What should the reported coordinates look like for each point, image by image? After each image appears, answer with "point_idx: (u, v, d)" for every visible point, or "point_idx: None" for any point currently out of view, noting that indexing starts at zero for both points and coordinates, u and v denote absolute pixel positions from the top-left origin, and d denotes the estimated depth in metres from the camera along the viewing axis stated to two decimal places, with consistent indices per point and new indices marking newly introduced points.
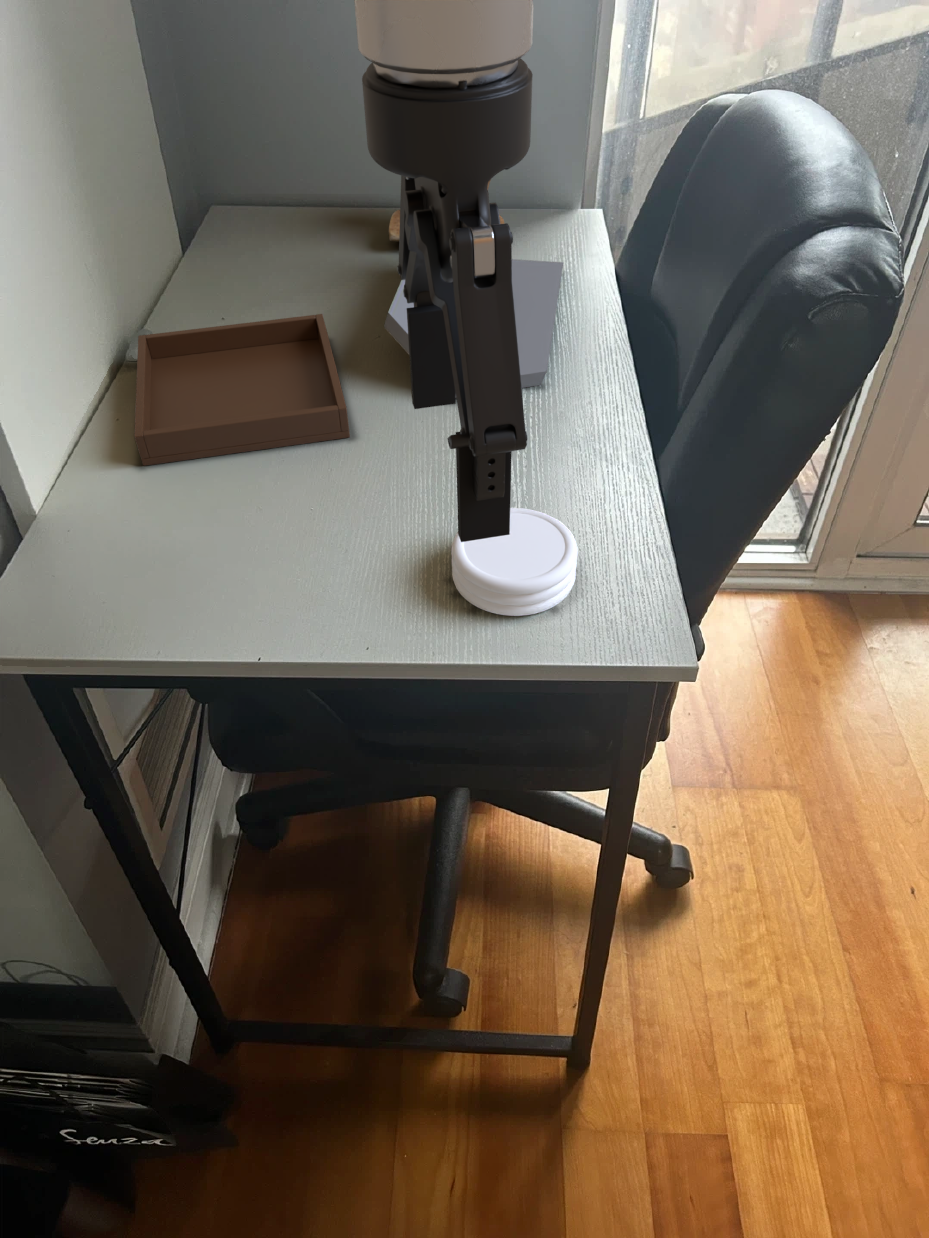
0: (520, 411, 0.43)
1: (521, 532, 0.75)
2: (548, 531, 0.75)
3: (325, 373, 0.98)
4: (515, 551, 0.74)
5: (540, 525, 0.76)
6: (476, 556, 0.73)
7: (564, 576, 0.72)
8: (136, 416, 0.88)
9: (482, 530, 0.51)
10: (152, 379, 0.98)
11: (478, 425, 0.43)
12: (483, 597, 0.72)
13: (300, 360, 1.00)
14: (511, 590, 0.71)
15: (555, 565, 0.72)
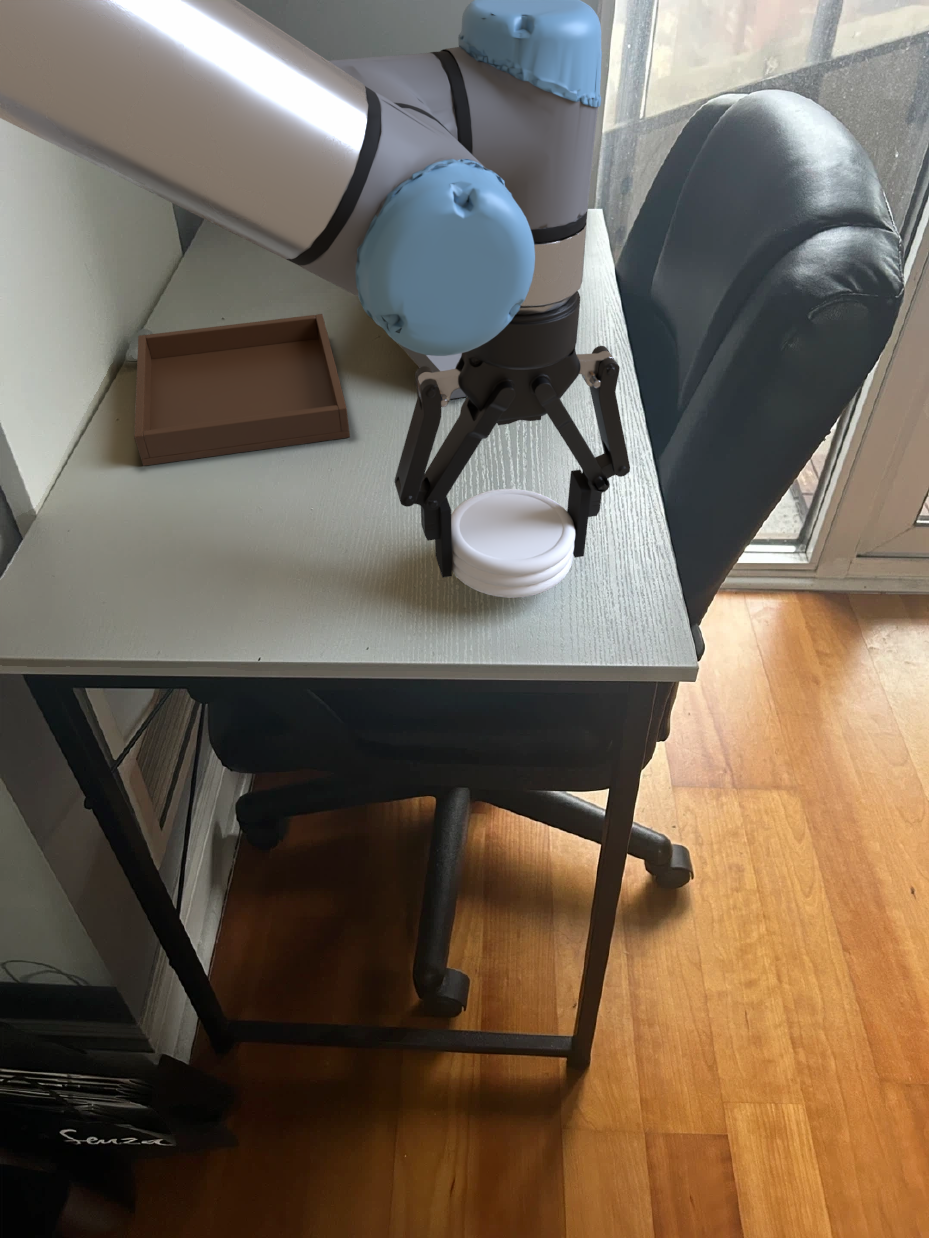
0: None
1: (518, 513, 0.74)
2: (545, 512, 0.74)
3: (325, 373, 0.98)
4: (512, 531, 0.72)
5: (537, 506, 0.74)
6: (472, 537, 0.72)
7: (561, 557, 0.71)
8: (136, 416, 0.88)
9: None
10: (152, 379, 0.98)
11: None
12: (478, 578, 0.71)
13: (300, 360, 1.00)
14: (507, 571, 0.69)
15: (552, 546, 0.71)
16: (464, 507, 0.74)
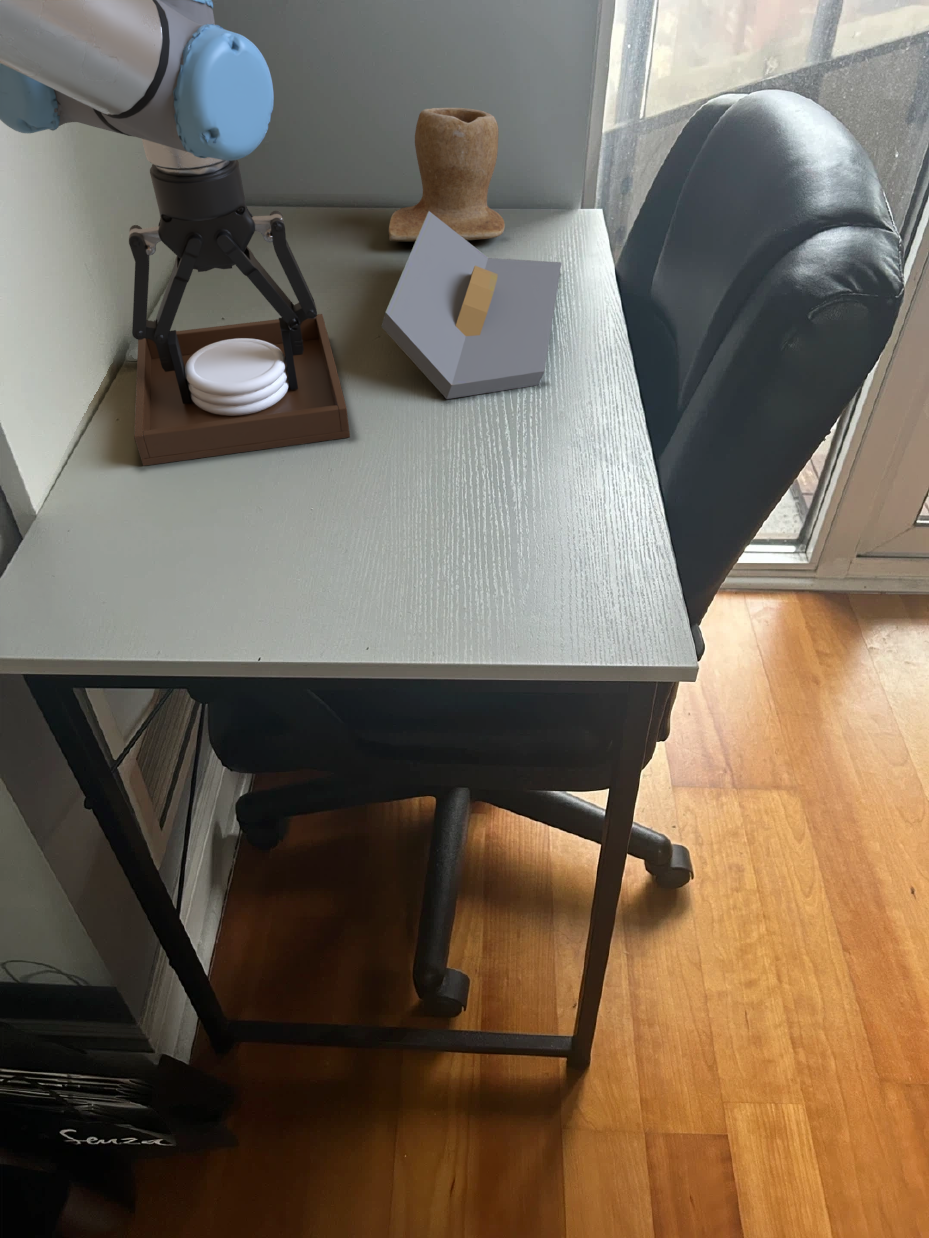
0: None
1: (243, 354, 0.95)
2: (264, 353, 0.95)
3: (325, 373, 0.98)
4: (234, 365, 0.93)
5: (260, 349, 0.95)
6: (201, 369, 0.93)
7: (267, 382, 0.92)
8: (136, 416, 0.88)
9: None
10: (152, 379, 0.98)
11: (312, 302, 0.90)
12: (204, 399, 0.92)
13: (300, 360, 1.00)
14: (222, 391, 0.90)
15: (261, 374, 0.92)
16: (202, 350, 0.95)
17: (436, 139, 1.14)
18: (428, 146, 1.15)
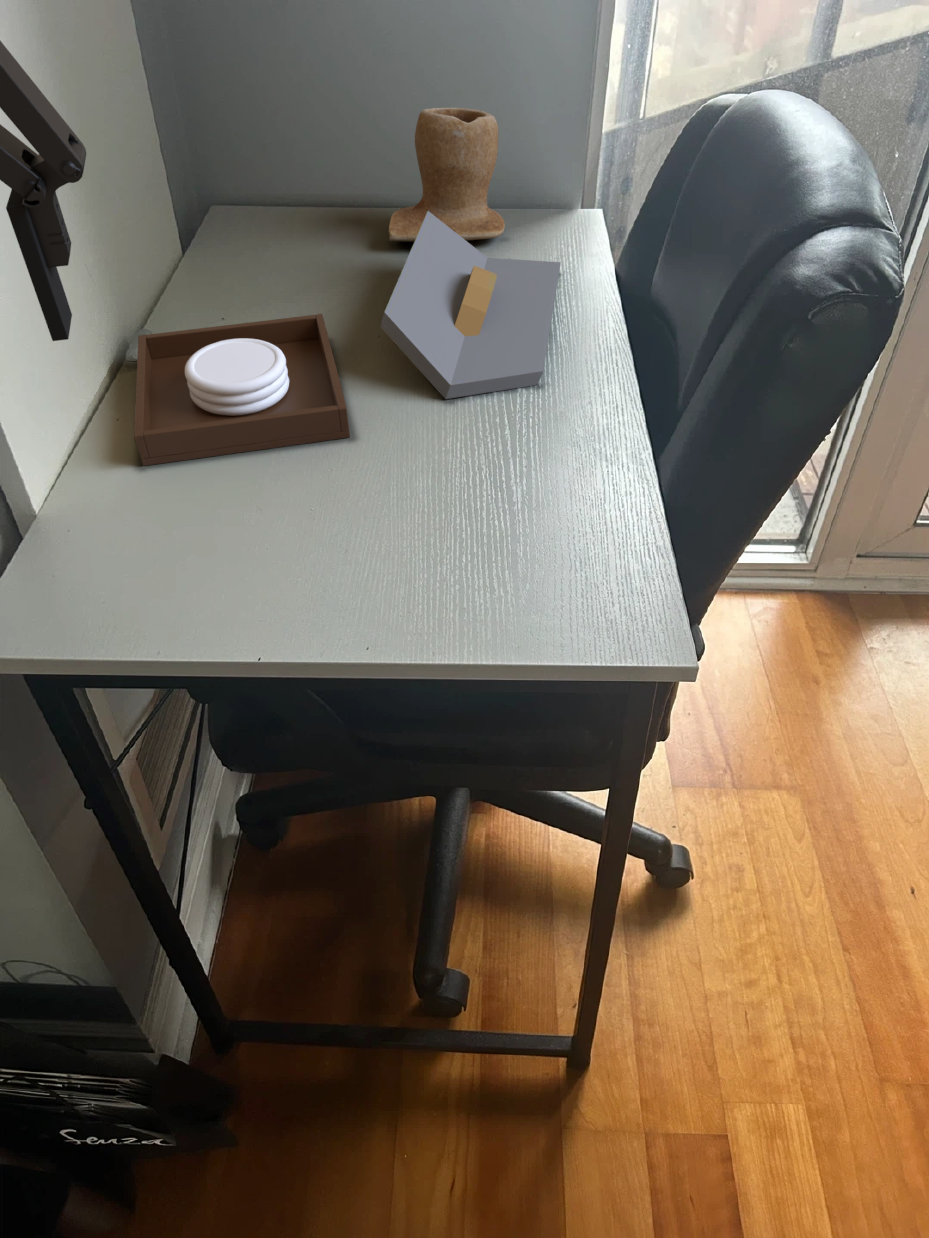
0: (62, 119, 0.42)
1: (243, 354, 0.95)
2: (265, 353, 0.95)
3: (325, 373, 0.98)
4: (234, 365, 0.93)
5: (260, 349, 0.95)
6: (202, 369, 0.93)
7: (267, 382, 0.92)
8: (136, 416, 0.88)
9: (66, 317, 0.47)
10: (152, 379, 0.98)
11: (65, 141, 0.41)
12: (204, 399, 0.92)
13: (300, 360, 1.00)
14: (222, 390, 0.90)
15: (261, 374, 0.92)
16: (202, 350, 0.95)
17: (436, 139, 1.14)
18: (428, 146, 1.15)
